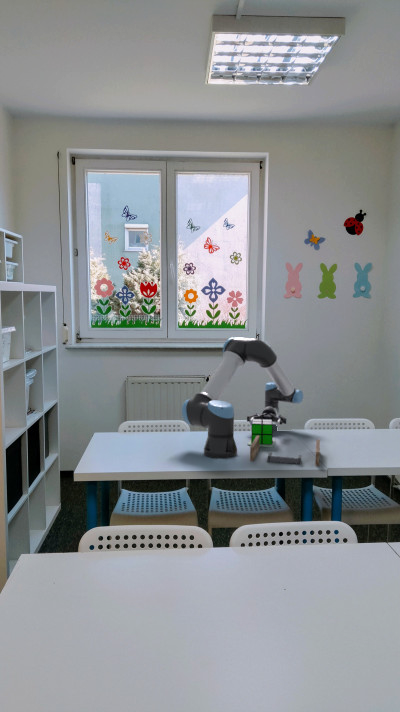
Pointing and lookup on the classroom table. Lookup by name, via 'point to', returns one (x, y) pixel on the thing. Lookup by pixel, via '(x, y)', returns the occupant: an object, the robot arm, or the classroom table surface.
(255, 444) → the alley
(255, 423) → the puzzle cube
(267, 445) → the mat
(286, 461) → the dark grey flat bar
